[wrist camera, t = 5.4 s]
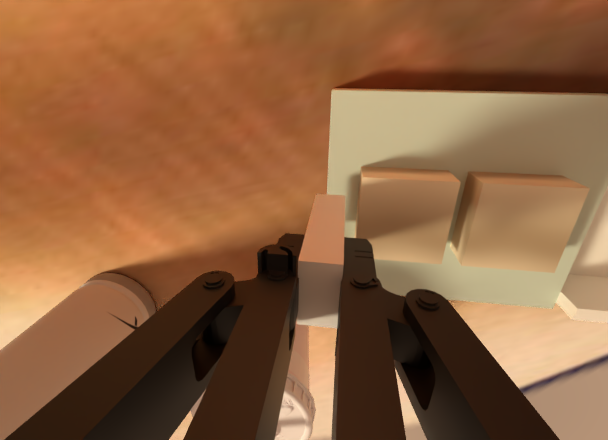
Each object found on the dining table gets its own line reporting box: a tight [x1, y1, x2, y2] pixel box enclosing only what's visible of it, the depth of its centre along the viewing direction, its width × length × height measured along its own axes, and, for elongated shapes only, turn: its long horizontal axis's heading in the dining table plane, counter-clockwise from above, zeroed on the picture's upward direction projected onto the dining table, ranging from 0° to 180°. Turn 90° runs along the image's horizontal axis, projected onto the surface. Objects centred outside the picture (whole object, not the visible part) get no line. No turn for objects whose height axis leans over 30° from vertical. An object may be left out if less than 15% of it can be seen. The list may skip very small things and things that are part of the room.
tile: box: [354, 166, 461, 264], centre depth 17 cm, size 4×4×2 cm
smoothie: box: [191, 320, 316, 440], centre depth 18 cm, size 6×6×14 cm
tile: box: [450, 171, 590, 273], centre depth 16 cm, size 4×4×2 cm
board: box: [327, 88, 608, 309], centre depth 18 cm, size 12×14×2 cm
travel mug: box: [0, 273, 156, 440], centre depth 18 cm, size 6×7×20 cm
